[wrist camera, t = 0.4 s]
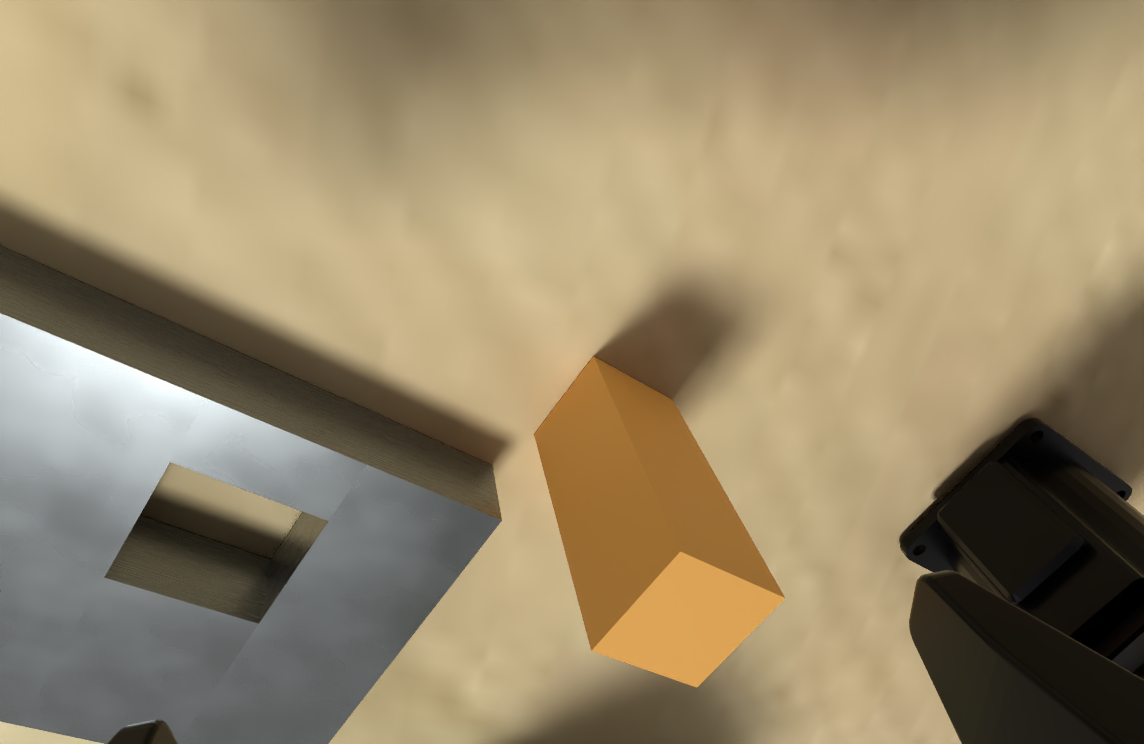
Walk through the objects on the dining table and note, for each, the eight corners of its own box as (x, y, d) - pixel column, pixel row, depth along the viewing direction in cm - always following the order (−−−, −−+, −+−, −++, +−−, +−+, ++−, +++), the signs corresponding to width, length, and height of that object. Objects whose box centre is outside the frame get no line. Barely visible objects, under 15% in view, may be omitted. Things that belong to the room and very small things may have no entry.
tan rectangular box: (672, 399, 23) (785, 598, 17) (613, 472, 24) (697, 687, 18) (593, 356, 22) (679, 551, 15) (534, 434, 23) (591, 651, 16)
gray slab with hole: (492, 465, 23) (501, 520, 21) (304, 716, 27) (296, 784, 25) (-42, 227, 17) (-103, 270, 15) (-188, 591, 21) (-253, 667, 19)
